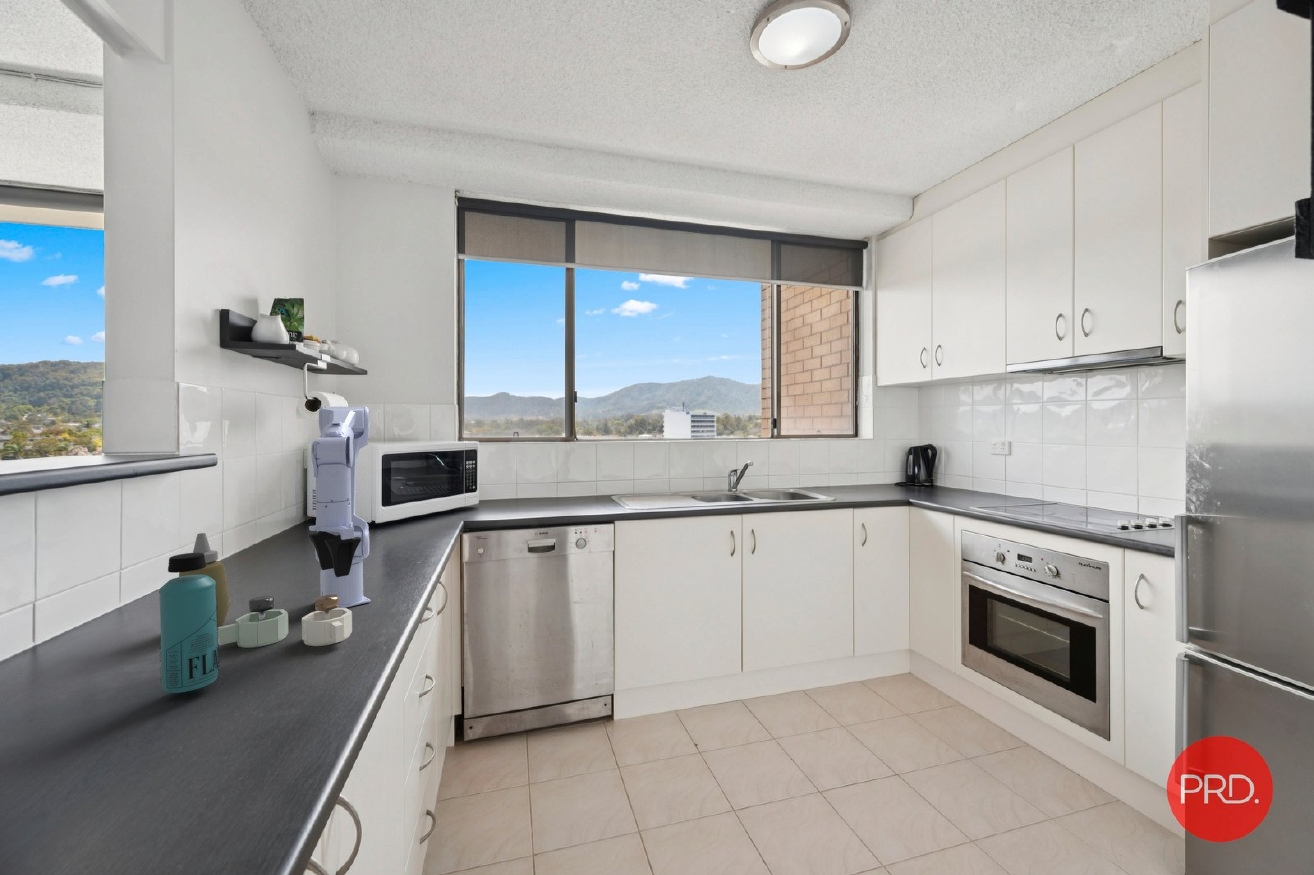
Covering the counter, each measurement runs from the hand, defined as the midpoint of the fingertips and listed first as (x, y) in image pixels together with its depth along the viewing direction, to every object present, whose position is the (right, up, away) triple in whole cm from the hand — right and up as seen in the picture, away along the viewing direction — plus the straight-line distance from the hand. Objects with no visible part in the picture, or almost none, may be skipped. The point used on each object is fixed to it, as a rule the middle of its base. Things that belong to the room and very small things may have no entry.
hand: (335, 572), depth 104 cm
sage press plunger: (-10, -10, -6) cm, 15 cm away
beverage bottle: (-6, -11, -25) cm, 28 cm away
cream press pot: (+3, -11, -6) cm, 12 cm away
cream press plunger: (+2, -10, -5) cm, 11 cm away
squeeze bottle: (-25, -11, 0) cm, 27 cm away
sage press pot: (-10, -11, -7) cm, 16 cm away
